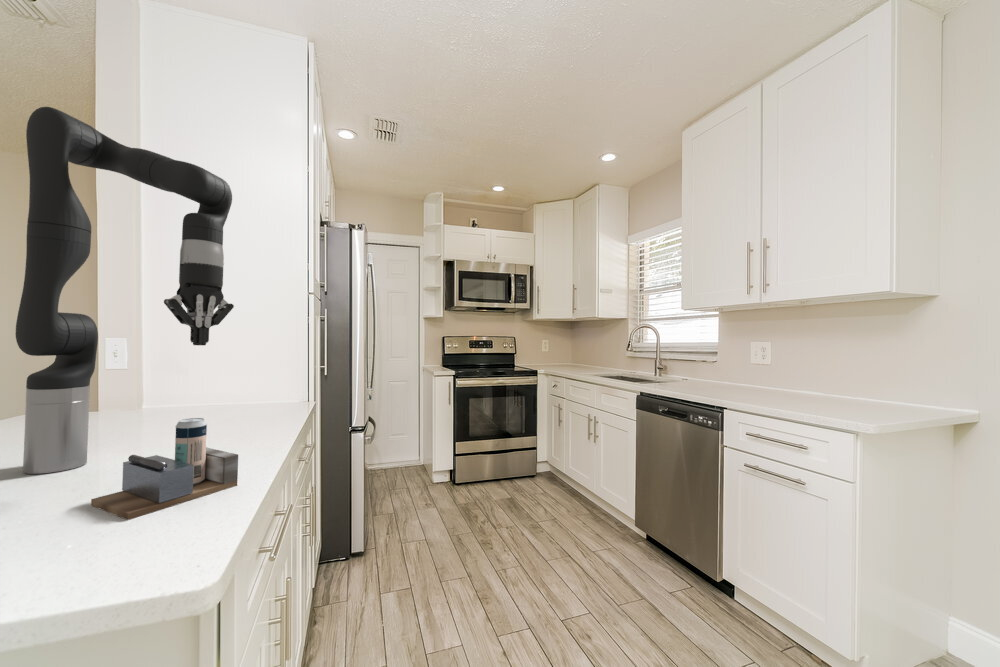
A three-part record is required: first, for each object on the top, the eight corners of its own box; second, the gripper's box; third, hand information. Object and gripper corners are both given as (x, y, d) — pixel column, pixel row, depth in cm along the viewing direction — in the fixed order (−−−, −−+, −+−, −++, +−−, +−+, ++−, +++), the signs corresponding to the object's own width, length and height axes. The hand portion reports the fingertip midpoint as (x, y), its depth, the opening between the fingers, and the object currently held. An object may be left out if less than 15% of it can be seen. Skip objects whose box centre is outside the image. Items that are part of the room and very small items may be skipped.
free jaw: (122, 490, 72) (123, 455, 72) (157, 481, 77) (158, 448, 77) (159, 503, 67) (160, 465, 67) (194, 492, 72) (195, 457, 72)
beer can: (208, 477, 80) (210, 416, 80) (201, 485, 75) (203, 421, 75) (178, 480, 78) (180, 418, 78) (169, 489, 73) (171, 423, 73)
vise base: (91, 505, 68) (92, 469, 68) (200, 475, 84) (201, 446, 84) (127, 520, 63) (129, 481, 63) (237, 485, 79) (238, 454, 79)
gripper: (223, 270, 94) (221, 344, 93) (155, 259, 81) (152, 344, 81) (244, 268, 90) (241, 345, 90) (176, 257, 78) (173, 346, 78)
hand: (199, 345), depth 86 cm, fingers closed
